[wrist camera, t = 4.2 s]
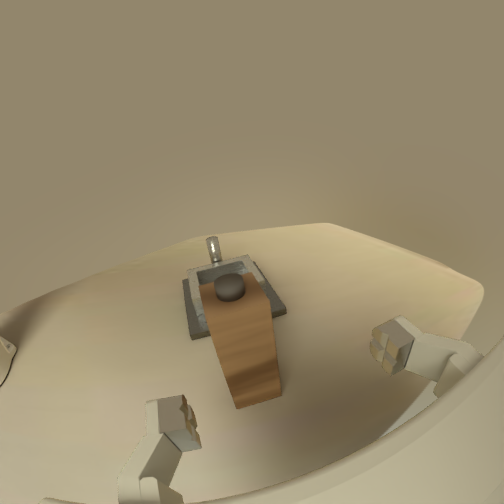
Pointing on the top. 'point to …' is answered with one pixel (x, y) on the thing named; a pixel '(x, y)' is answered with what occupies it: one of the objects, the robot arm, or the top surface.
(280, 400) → the top surface
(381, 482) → the robot arm
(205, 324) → the keeper bracket
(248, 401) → the walnut toggle block
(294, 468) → the top surface
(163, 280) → the top surface
